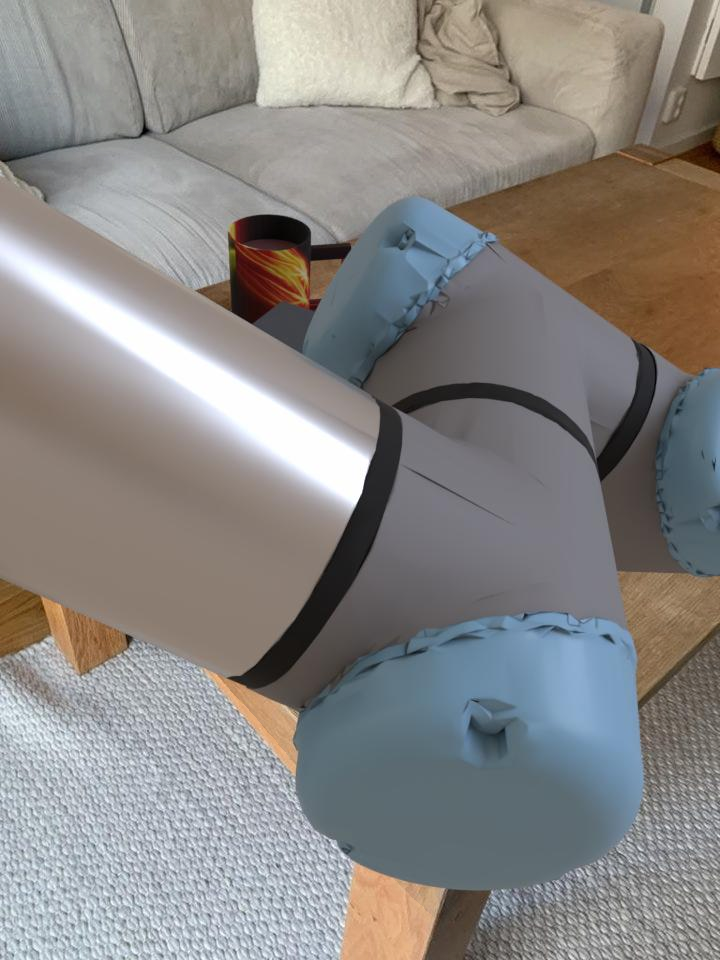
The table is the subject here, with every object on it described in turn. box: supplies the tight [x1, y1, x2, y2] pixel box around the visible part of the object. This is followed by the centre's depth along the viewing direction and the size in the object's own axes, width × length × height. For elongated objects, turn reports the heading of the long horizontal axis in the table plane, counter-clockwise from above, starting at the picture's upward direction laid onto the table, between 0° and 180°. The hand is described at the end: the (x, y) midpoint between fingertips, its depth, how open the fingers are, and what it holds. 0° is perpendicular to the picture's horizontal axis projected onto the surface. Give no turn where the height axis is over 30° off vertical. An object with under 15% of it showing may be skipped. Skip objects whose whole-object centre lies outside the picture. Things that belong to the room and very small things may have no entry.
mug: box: [227, 213, 352, 324], centre depth 100 cm, size 10×14×12 cm
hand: (364, 521), depth 64 cm, fingers closed on figurine, 6 cm apart
